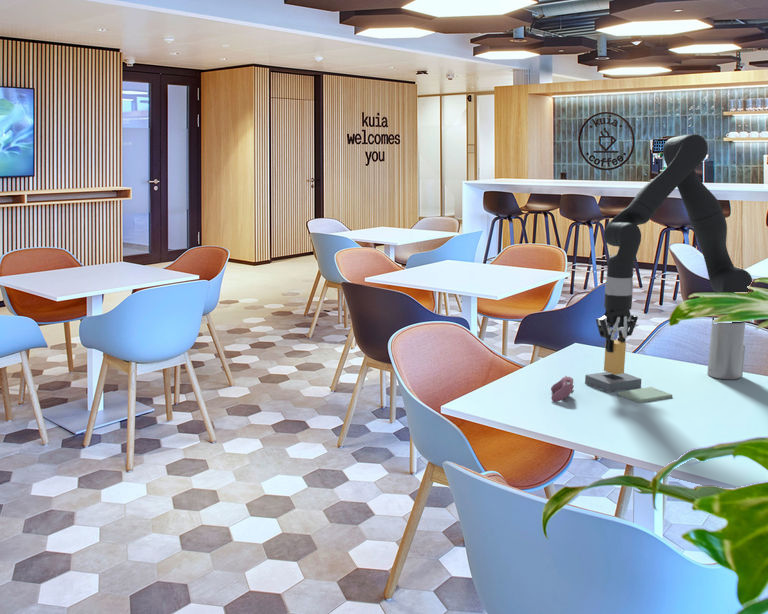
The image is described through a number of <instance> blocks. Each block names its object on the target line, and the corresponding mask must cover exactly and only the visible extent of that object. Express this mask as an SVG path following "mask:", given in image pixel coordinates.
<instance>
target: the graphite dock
mask: <svg viewBox="0 0 768 614" xmlns="http://www.w3.org/2000/svg"><path fill="white" fill-rule="evenodd" d="M584 384H586V385H588V386H591V387H594V388H597V389H599V390H602V391H604V392H606V393H612V392H621V391H627V390H634V389H641V388H642V378H640V377H637V376H634V375H631V374H629V373H626V372H624V373H622V374H615V375H614V374H612V373H609V372H606V371H604V372H597V373H590V374H585V379H584Z"/></svg>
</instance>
